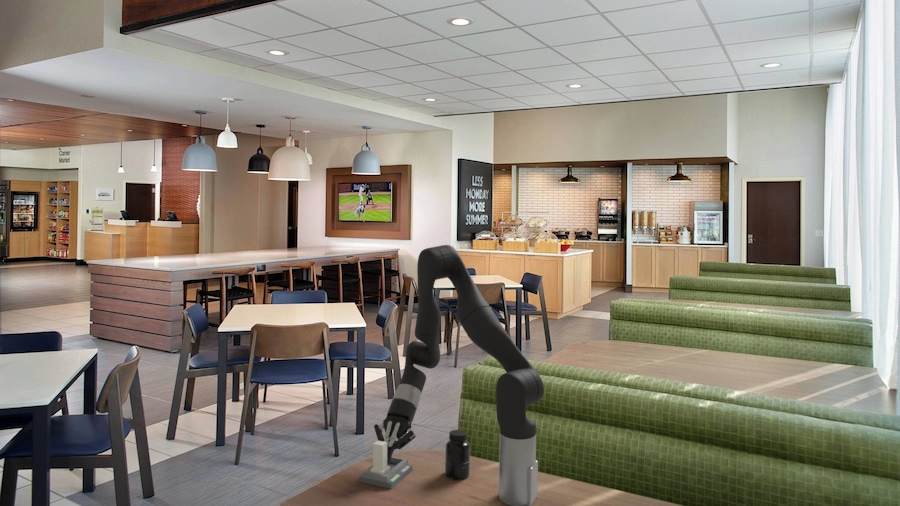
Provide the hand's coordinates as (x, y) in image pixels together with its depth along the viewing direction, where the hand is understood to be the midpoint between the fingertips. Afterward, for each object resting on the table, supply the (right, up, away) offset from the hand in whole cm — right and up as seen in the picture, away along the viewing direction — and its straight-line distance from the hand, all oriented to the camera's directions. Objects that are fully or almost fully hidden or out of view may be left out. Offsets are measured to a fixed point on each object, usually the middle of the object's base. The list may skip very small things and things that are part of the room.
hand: (383, 461), depth 166 cm
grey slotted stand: (0, -5, +2) cm, 5 cm away
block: (-1, -3, -1) cm, 4 cm away
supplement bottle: (+20, -5, +3) cm, 21 cm away
